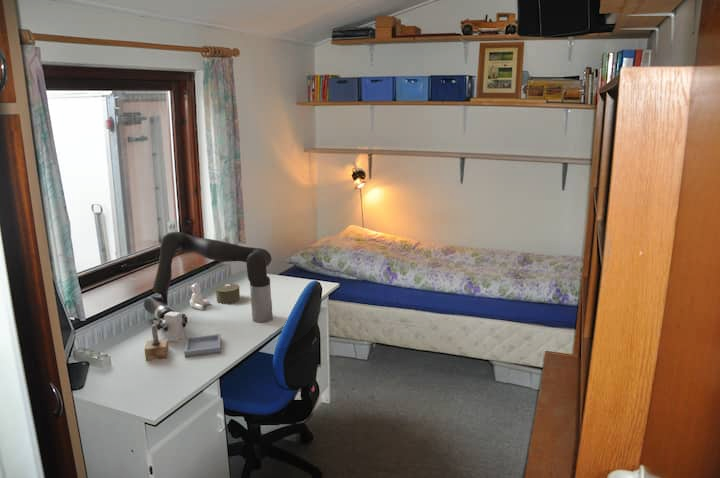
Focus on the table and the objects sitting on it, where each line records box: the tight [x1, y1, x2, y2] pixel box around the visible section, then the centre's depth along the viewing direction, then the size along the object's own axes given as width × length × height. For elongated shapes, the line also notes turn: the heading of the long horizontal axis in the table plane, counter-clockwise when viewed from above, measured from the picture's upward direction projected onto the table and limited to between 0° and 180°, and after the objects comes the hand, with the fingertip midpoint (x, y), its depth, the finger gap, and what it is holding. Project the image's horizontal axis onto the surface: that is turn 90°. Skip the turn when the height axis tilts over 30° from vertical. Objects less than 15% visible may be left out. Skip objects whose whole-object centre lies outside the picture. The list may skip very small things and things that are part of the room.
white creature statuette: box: [189, 283, 210, 311], centre depth 279 cm, size 10×9×12 cm
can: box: [215, 283, 241, 305], centre depth 289 cm, size 12×12×7 cm
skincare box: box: [164, 311, 185, 343], centre depth 242 cm, size 6×4×12 cm
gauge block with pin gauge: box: [144, 324, 170, 362], centre depth 227 cm, size 8×8×13 cm
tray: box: [184, 333, 222, 358], centre depth 234 cm, size 14×14×2 cm
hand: (175, 327), depth 240 cm, fingers closed on skincare box, 6 cm apart
